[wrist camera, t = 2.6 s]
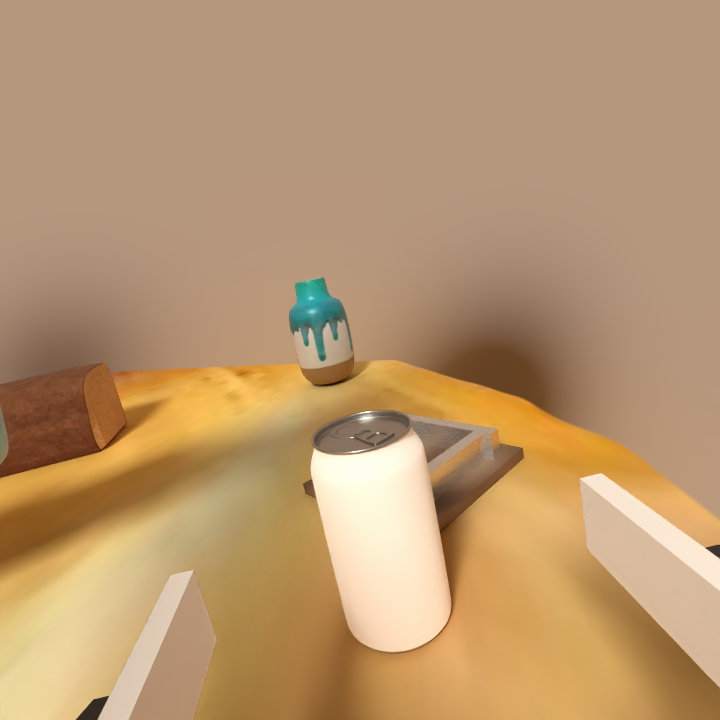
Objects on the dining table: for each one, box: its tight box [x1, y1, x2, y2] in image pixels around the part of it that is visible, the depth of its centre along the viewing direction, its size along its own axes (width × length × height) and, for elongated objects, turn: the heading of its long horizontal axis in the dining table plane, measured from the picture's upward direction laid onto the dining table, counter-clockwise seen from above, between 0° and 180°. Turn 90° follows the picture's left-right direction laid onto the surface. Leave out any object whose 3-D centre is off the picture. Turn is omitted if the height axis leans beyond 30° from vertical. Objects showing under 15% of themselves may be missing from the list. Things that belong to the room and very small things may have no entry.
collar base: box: [303, 443, 524, 532], centre depth 42 cm, size 15×15×1 cm
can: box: [310, 410, 451, 653], centre depth 26 cm, size 6×6×12 cm
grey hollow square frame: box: [404, 413, 501, 501], centre depth 42 cm, size 13×11×2 cm
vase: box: [289, 277, 354, 384], centre depth 81 cm, size 11×11×19 cm
